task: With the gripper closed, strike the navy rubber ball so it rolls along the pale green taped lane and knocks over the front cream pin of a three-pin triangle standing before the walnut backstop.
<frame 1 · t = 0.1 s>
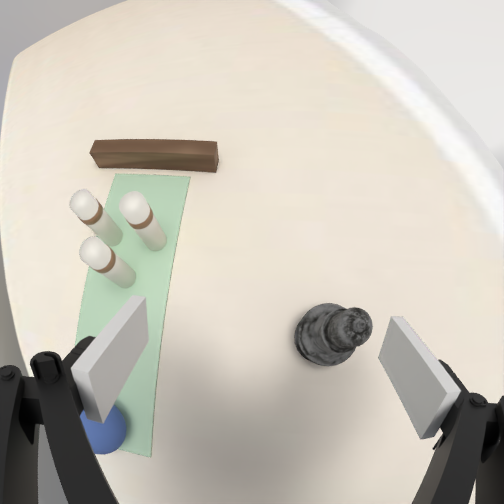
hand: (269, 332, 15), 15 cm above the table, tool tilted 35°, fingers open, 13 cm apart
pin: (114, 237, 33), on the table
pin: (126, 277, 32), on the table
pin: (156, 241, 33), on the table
salt shaker: (319, 337, 30), on the table
backstop: (155, 162, 37), on the table
ball: (97, 425, 23), on the table
lane mark: (121, 304, 31), on the table
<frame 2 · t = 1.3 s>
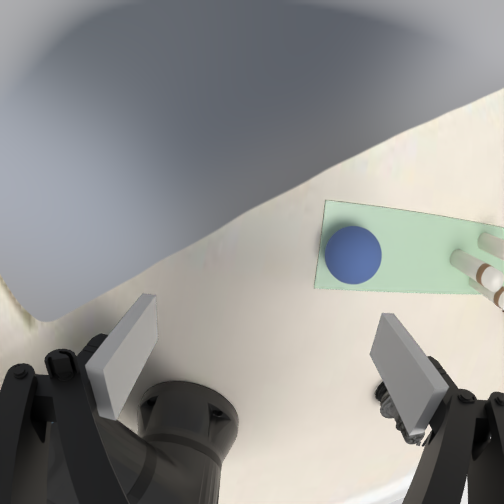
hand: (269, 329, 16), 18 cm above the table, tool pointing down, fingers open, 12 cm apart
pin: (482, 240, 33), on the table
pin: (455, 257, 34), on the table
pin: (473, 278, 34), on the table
salt shaker: (391, 388, 40), on the table
ball: (353, 255, 31), on the table
lane mark: (438, 255, 34), on the table
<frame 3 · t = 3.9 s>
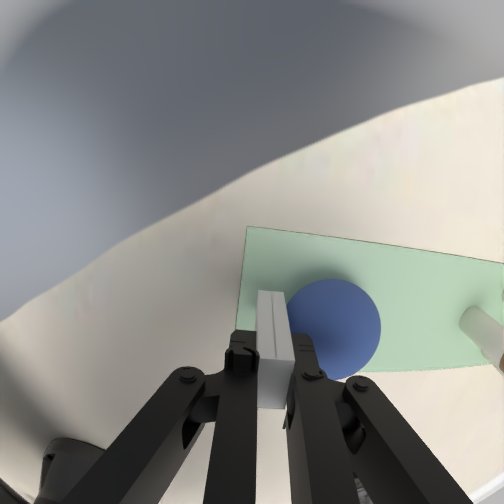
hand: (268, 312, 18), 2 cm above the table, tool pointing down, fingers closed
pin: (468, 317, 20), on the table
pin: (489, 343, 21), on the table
salt shaker: (354, 474, 26), on the table
ball: (330, 329, 17), on the table, touching gripper
lane mark: (443, 317, 20), on the table
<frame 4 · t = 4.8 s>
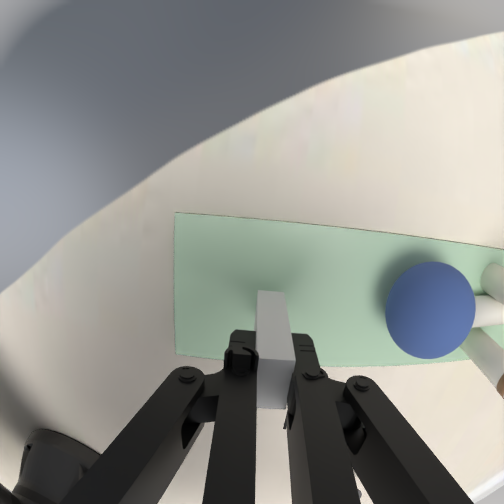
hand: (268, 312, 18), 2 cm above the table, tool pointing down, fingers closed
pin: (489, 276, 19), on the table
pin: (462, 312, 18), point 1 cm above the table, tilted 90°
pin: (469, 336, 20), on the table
ball: (430, 310, 16), on the table
lane mark: (407, 306, 19), on the table
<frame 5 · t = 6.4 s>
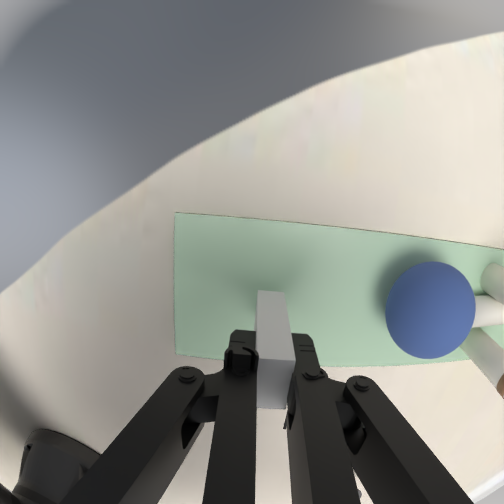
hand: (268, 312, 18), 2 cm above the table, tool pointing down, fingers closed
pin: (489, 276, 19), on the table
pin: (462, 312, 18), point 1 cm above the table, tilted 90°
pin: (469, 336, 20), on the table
ball: (430, 310, 16), on the table
lane mark: (407, 306, 19), on the table
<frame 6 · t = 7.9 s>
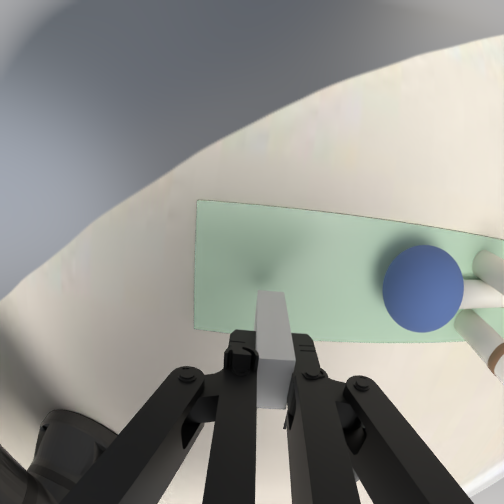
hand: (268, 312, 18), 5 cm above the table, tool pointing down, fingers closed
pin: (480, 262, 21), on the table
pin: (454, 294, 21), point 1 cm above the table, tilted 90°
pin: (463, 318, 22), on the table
ball: (423, 288, 19), on the table
lane mark: (404, 287, 22), on the table
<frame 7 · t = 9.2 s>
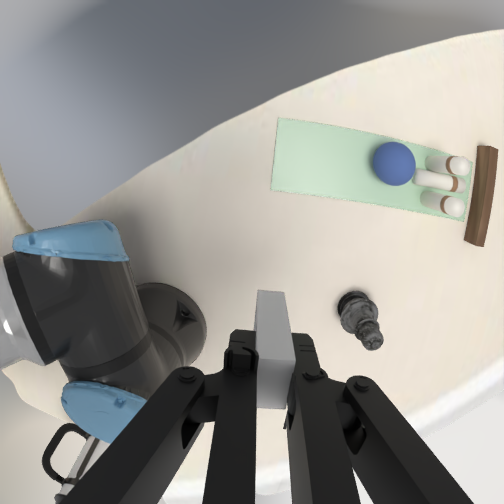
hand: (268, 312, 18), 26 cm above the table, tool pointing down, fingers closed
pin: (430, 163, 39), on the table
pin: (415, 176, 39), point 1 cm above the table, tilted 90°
coffee press: (115, 431, 58), on the table
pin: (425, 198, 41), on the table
salt shaker: (353, 305, 46), on the table
backstop: (476, 194, 40), on the table
ball: (394, 163, 37), on the table
lane mark: (385, 171, 40), on the table
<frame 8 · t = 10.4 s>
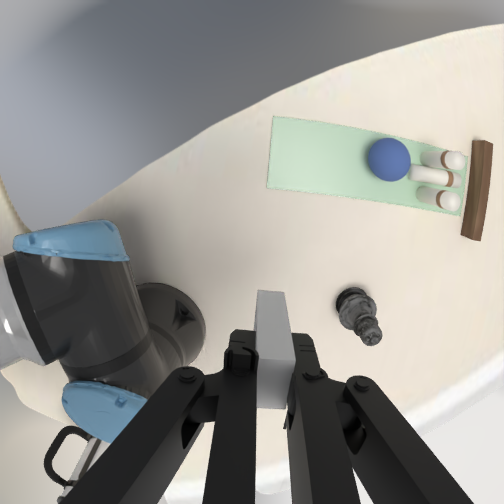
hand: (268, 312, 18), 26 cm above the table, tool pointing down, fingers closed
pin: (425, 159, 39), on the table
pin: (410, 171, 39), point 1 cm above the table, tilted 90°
coffee press: (116, 432, 58), on the table
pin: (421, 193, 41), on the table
salt shaker: (351, 302, 46), on the table
backstop: (472, 188, 40), on the table
ball: (389, 159, 37), on the table
lane mark: (380, 167, 40), on the table
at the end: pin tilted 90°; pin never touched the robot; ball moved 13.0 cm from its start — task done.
